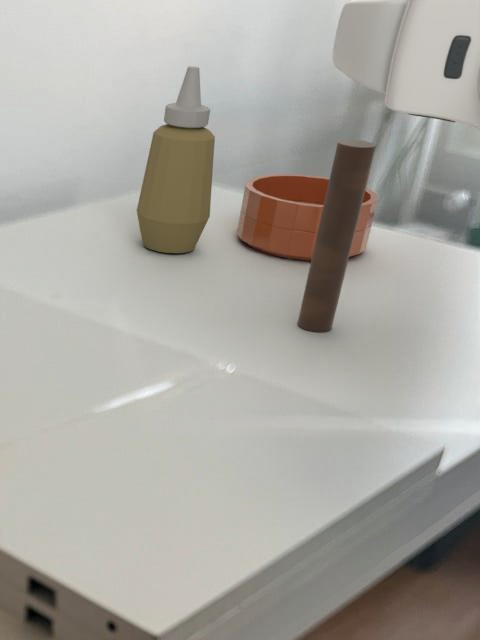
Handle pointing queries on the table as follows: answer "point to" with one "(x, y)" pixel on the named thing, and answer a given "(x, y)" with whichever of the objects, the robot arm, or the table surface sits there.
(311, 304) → the stirring stick
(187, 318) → the table surface
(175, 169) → the squeeze bottle
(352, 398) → the table surface
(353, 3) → the robot arm
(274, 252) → the bowl
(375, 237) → the table surface
